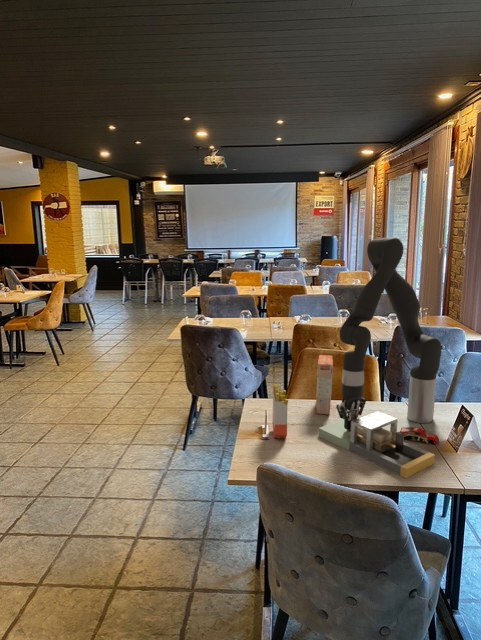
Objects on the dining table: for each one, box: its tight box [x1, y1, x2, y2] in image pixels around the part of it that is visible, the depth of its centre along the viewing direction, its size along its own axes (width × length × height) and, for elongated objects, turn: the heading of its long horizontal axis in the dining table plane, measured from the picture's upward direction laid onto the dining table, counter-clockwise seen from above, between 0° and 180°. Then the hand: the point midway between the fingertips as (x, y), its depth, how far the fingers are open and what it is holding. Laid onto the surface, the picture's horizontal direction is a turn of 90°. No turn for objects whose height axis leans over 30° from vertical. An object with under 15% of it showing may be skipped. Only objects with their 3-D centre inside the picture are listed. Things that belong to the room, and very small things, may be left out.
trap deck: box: [318, 418, 436, 479], centre depth 162 cm, size 15×36×3 cm, turn 37°
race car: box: [399, 426, 440, 446], centre depth 169 cm, size 13×5×4 cm, turn 65°
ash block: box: [357, 427, 392, 444], centre depth 161 cm, size 6×10×4 cm, turn 37°
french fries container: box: [272, 383, 289, 439], centre depth 171 cm, size 5×11×18 cm, turn 1°
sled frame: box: [347, 413, 405, 453], centre depth 161 cm, size 10×22×6 cm, turn 37°
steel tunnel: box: [350, 410, 399, 451], centre depth 161 cm, size 14×8×8 cm, turn 127°
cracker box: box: [315, 354, 334, 416], centre depth 195 cm, size 14×6×21 cm, turn 168°
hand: (350, 428), depth 169 cm, fingers closed on sled frame, 2 cm apart
